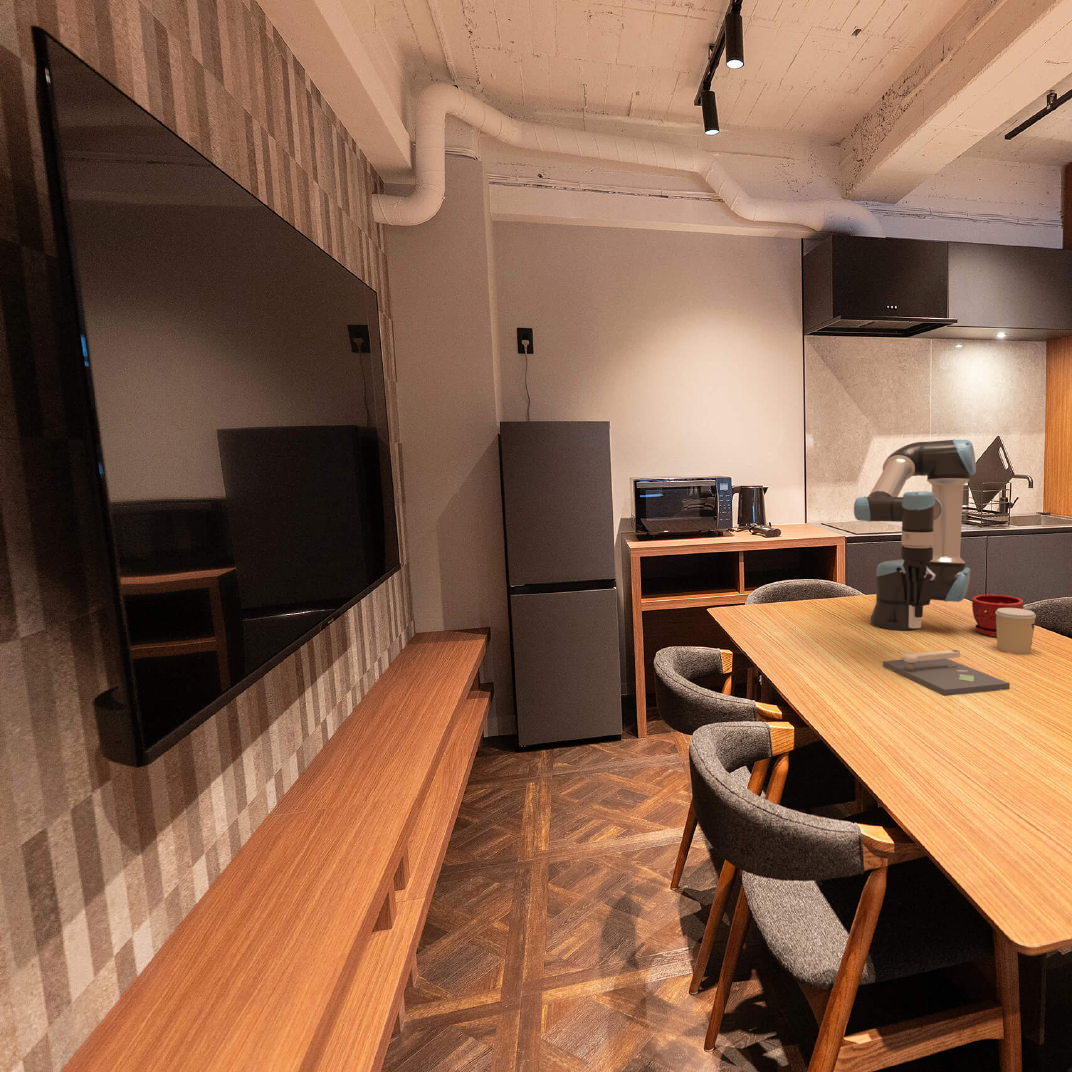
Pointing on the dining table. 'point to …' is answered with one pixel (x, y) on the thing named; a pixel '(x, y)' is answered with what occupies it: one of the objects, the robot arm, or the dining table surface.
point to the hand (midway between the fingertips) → (914, 627)
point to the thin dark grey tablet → (946, 676)
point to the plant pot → (991, 611)
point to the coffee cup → (1015, 630)
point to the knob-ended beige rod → (930, 655)
